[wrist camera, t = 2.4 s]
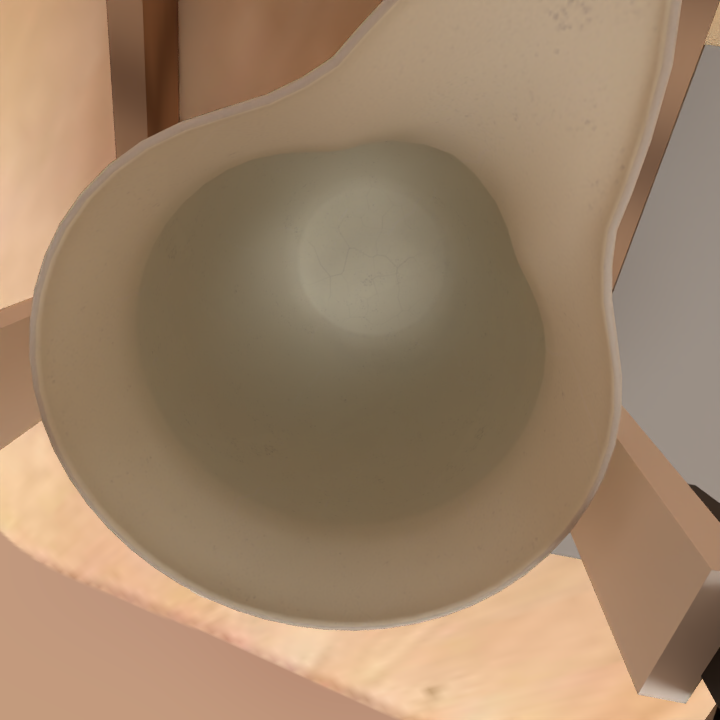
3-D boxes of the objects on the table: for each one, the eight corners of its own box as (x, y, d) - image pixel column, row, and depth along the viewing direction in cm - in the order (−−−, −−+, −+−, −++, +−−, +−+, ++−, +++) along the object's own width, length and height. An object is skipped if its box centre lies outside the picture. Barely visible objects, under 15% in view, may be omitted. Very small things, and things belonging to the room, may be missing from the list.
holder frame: (141, -112, 16) (96, -154, 14) (696, -35, 16) (744, -66, 13) (162, 472, 26) (138, 503, 24) (498, 535, 26) (507, 573, 23)
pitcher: (177, 384, 24) (-83, 643, 12) (344, -14, 17) (132, -480, 4) (370, 483, 25) (325, 815, 13) (605, 151, 18) (1037, 163, 5)
